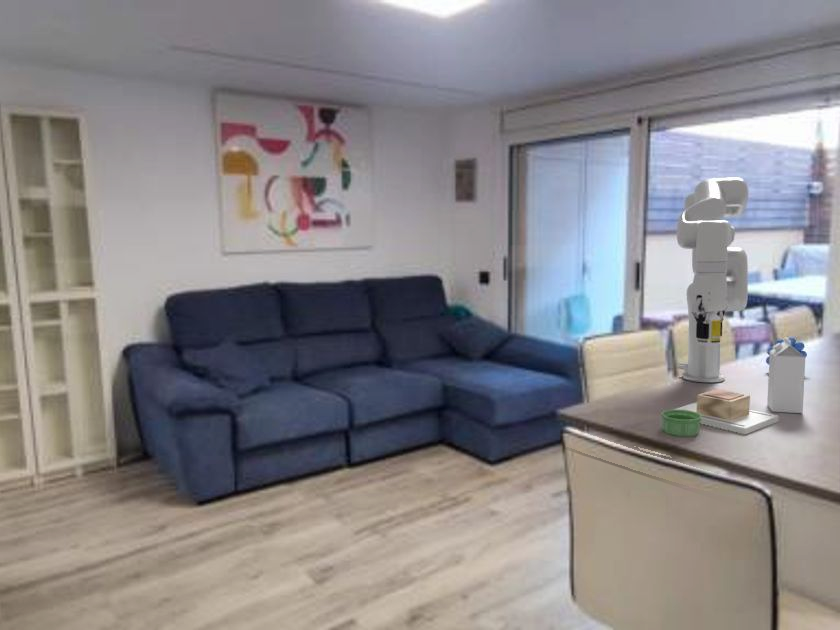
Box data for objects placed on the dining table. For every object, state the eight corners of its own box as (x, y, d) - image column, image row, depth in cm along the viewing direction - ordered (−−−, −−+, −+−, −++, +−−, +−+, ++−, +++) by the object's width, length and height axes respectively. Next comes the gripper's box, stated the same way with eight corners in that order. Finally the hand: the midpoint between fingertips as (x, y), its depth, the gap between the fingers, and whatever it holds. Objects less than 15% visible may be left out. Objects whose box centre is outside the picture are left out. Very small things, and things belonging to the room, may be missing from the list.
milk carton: (796, 406, 172) (800, 337, 170) (802, 414, 166) (806, 341, 163) (767, 405, 175) (770, 336, 172) (772, 412, 168) (775, 341, 166)
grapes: (805, 372, 212) (807, 336, 210) (806, 376, 206) (807, 339, 204) (765, 369, 218) (767, 334, 216) (765, 373, 212) (766, 337, 210)
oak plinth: (696, 412, 164) (696, 393, 164) (715, 406, 170) (715, 388, 169) (730, 420, 157) (731, 400, 156) (749, 413, 162) (750, 394, 162)
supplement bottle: (720, 343, 170) (721, 306, 169) (719, 346, 166) (721, 308, 164) (698, 342, 173) (699, 305, 172) (697, 345, 168) (698, 308, 167)
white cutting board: (669, 416, 167) (669, 410, 167) (703, 405, 176) (703, 399, 176) (745, 434, 151) (745, 428, 151) (778, 421, 160) (778, 415, 160)
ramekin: (697, 440, 148) (698, 421, 148) (657, 434, 153) (657, 416, 153) (703, 429, 156) (704, 412, 155) (665, 424, 161) (665, 407, 160)
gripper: (715, 267, 175) (713, 332, 177) (678, 269, 165) (677, 339, 167) (742, 267, 169) (740, 335, 171) (706, 270, 159) (703, 342, 161)
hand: (709, 336), depth 169 cm, fingers closed on supplement bottle, 5 cm apart
